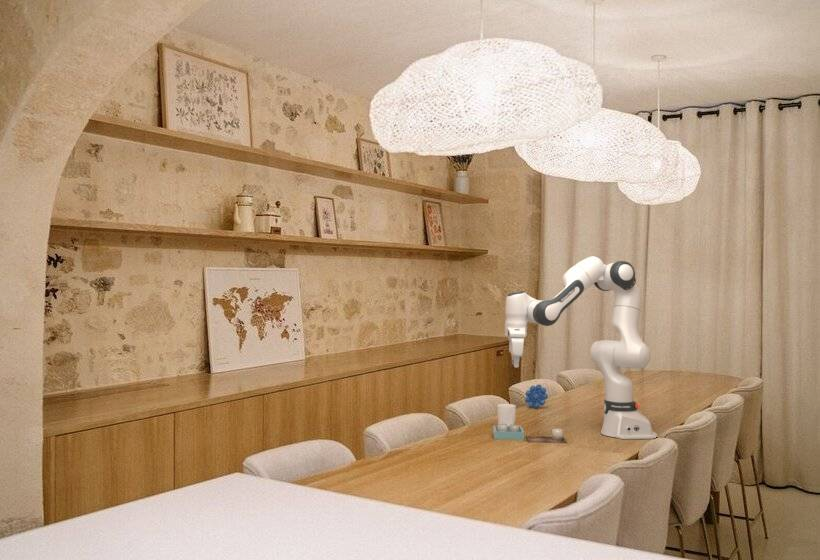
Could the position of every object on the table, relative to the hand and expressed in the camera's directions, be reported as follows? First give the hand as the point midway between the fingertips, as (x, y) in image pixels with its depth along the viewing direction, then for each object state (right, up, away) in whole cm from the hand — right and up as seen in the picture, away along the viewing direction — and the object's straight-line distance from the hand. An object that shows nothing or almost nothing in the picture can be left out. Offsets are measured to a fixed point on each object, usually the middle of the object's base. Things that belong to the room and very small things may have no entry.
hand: (515, 365), depth 299 cm
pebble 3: (+16, -29, -6) cm, 33 cm away
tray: (+11, -29, -6) cm, 32 cm away
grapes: (+20, -29, +69) cm, 77 cm away
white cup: (-1, -29, +18) cm, 34 cm away
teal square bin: (-3, -29, 0) cm, 29 cm away
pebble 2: (0, -29, 0) cm, 29 cm away
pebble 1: (-5, -28, 0) cm, 29 cm away
